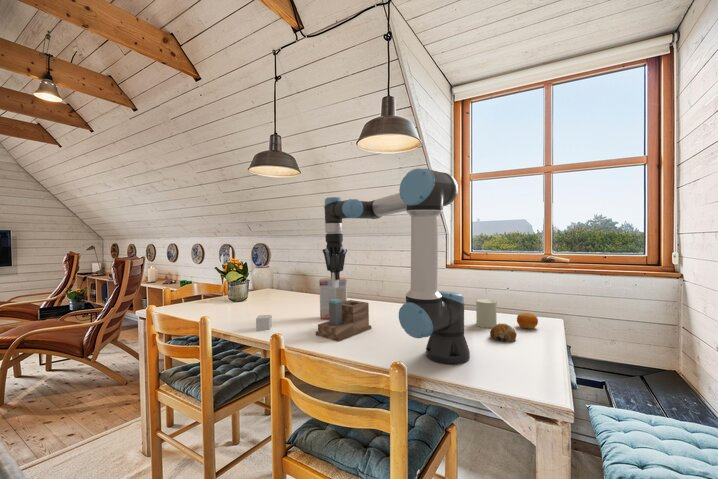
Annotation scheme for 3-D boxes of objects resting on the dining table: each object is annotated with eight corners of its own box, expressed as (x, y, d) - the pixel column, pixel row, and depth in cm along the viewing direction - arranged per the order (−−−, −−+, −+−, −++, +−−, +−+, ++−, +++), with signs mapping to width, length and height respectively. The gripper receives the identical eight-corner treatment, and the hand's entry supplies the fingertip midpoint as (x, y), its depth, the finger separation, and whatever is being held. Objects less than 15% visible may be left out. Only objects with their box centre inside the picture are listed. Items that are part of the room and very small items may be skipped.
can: (497, 328, 149) (497, 302, 148) (476, 327, 152) (476, 301, 151) (496, 323, 158) (495, 298, 157) (475, 321, 160) (475, 297, 160)
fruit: (538, 317, 153) (530, 304, 151) (543, 329, 145) (535, 315, 143) (520, 324, 156) (512, 311, 154) (524, 336, 148) (516, 322, 147)
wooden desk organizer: (371, 328, 152) (371, 303, 151) (338, 341, 135) (338, 312, 135) (348, 323, 161) (348, 299, 160) (315, 335, 144) (315, 308, 144)
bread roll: (519, 349, 133) (523, 330, 134) (504, 343, 128) (510, 323, 129) (497, 342, 141) (502, 324, 143) (483, 336, 136) (488, 317, 138)
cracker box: (347, 316, 175) (347, 277, 175) (346, 319, 169) (346, 279, 169) (321, 316, 176) (321, 277, 176) (319, 319, 170) (319, 279, 170)
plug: (342, 331, 144) (341, 299, 143) (336, 333, 141) (335, 301, 140) (335, 329, 146) (335, 298, 146) (329, 331, 143) (328, 300, 143)
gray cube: (271, 327, 158) (271, 314, 158) (269, 330, 152) (269, 317, 152) (259, 327, 158) (258, 315, 158) (256, 331, 152) (256, 318, 152)
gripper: (350, 232, 141) (352, 287, 141) (329, 233, 150) (331, 285, 150) (339, 232, 135) (340, 289, 136) (317, 233, 144) (318, 287, 144)
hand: (335, 287), depth 143 cm, fingers closed
